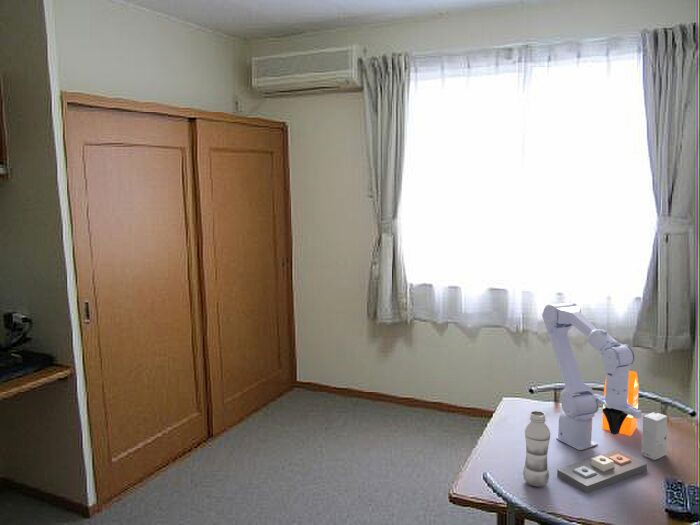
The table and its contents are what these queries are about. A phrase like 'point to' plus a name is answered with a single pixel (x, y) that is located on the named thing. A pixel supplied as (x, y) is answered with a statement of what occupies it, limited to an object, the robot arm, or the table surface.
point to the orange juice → (633, 390)
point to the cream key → (602, 463)
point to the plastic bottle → (536, 450)
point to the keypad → (601, 472)
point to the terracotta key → (620, 459)
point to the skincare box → (654, 435)
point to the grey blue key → (584, 472)
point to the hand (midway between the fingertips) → (614, 433)
